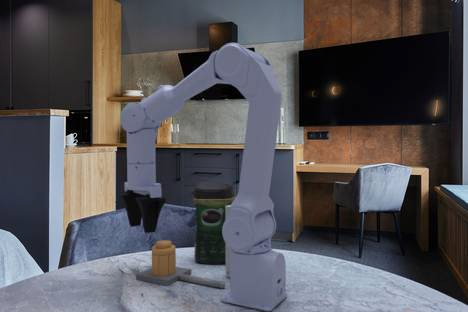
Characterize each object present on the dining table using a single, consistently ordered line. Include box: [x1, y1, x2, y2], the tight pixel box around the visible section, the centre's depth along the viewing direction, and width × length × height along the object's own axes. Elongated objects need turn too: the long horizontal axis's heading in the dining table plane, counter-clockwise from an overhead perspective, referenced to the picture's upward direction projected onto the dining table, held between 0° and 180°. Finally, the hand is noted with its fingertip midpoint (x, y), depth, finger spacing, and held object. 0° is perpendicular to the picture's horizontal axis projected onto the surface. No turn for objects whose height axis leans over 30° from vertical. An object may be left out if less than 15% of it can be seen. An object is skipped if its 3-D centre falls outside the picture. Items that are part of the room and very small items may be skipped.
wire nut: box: [151, 239, 177, 276], centre depth 82 cm, size 5×5×6 cm
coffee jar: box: [192, 181, 235, 265], centre depth 93 cm, size 10×8×19 cm
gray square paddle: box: [135, 266, 226, 289], centre depth 79 cm, size 19×8×4 cm, turn 61°
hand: (142, 229), depth 82 cm, fingers open, 7 cm apart
